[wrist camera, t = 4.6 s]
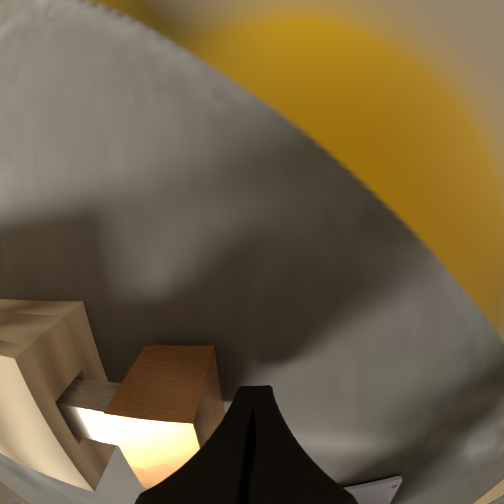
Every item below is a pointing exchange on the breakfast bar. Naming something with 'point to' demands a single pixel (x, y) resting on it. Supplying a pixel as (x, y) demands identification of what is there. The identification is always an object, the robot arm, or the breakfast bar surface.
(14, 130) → the breakfast bar surface
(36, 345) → the block
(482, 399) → the breakfast bar surface
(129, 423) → the shaft
